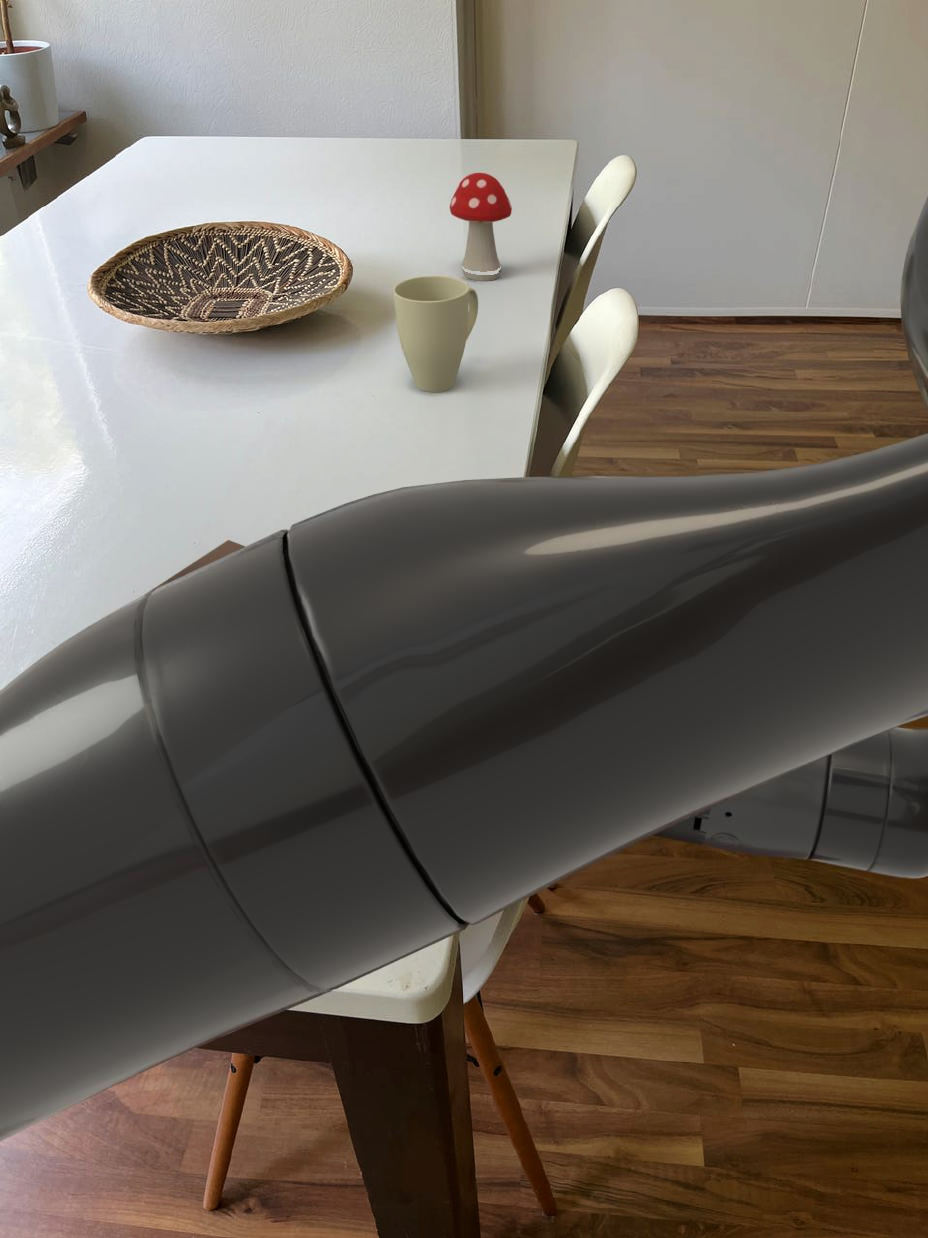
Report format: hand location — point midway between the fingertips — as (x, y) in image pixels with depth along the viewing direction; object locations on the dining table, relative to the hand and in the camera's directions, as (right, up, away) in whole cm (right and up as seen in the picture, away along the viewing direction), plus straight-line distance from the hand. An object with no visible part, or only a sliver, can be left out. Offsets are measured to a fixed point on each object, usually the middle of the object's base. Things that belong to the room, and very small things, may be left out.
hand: (409, 716), depth 53 cm
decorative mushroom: (+6, +59, +103) cm, 118 cm away
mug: (0, +35, +71) cm, 79 cm away
